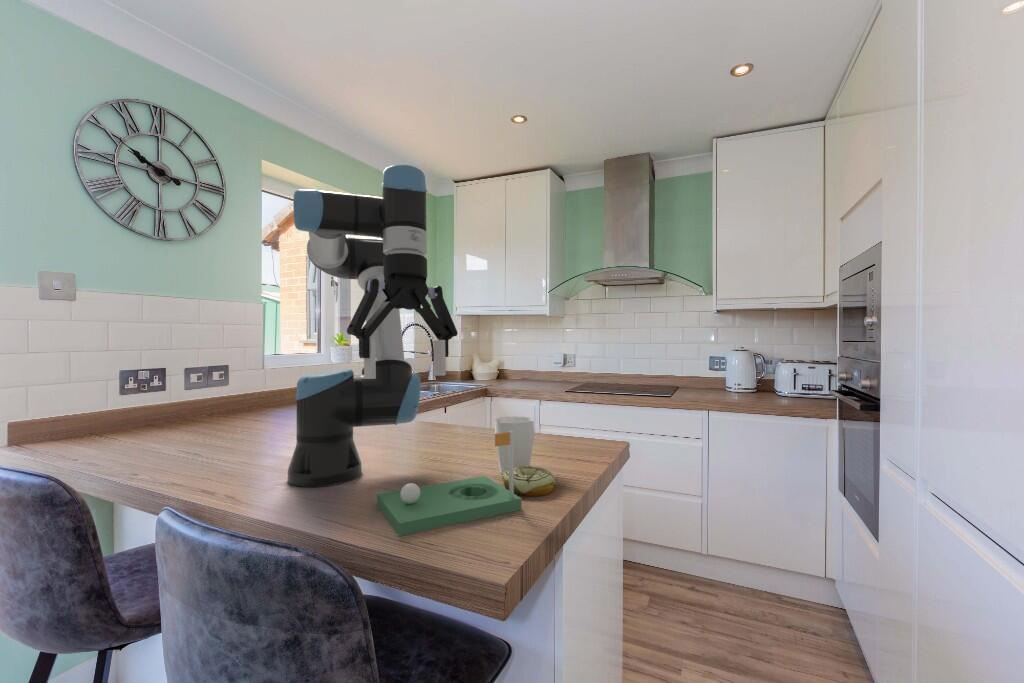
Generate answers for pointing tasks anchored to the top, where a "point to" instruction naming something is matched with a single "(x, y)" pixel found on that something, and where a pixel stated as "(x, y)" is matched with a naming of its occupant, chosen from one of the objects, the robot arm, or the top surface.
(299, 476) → the robot arm
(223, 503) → the top surface
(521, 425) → the cup
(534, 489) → the decorated donut
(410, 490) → the ball
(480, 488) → the green
